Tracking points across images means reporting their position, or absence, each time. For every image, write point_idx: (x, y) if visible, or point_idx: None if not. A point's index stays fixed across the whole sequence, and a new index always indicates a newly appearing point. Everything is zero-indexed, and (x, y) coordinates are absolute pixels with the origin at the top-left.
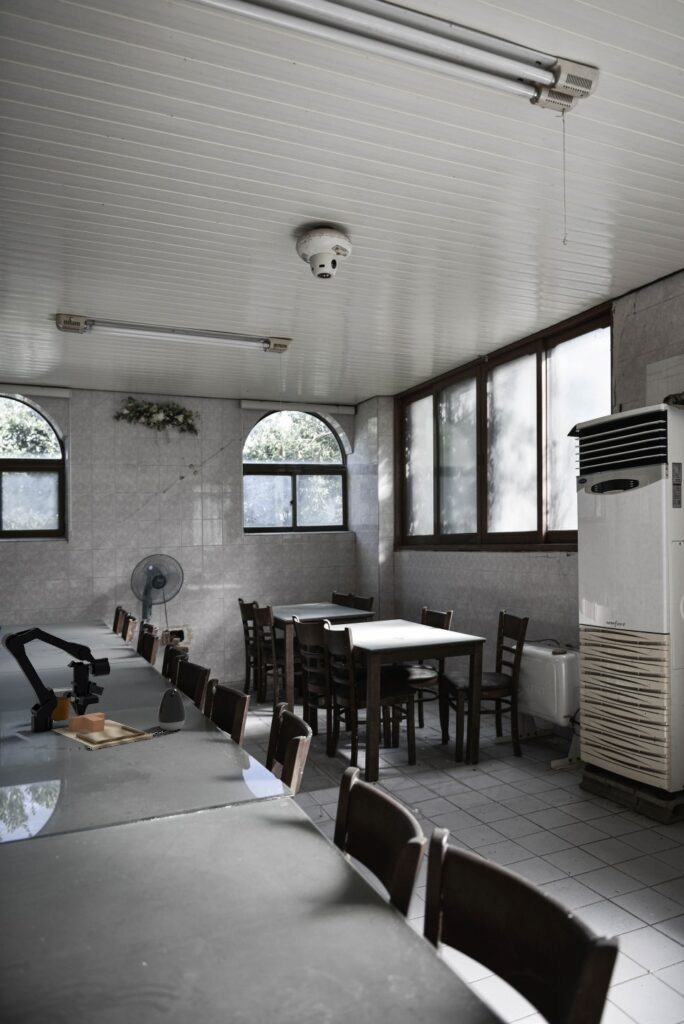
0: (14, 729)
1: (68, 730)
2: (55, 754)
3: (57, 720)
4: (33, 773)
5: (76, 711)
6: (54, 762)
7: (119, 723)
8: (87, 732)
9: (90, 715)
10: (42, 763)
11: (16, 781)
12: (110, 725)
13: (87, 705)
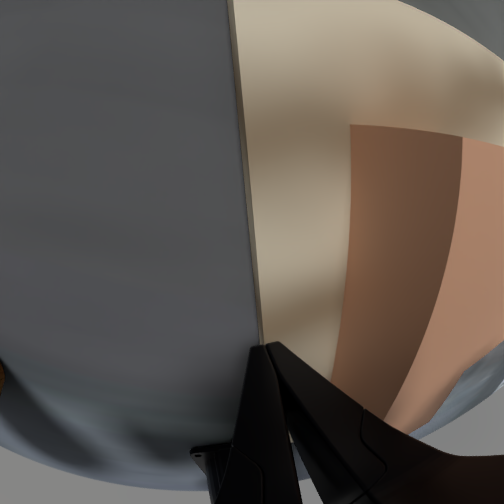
0: (112, 478)
1: None
2: (483, 373)
3: (1, 383)
4: (496, 381)
5: (312, 477)
6: (500, 365)
7: (455, 30)
8: None
9: (473, 320)
10: (487, 382)
11: (492, 391)
12: (472, 115)
13: (464, 461)
